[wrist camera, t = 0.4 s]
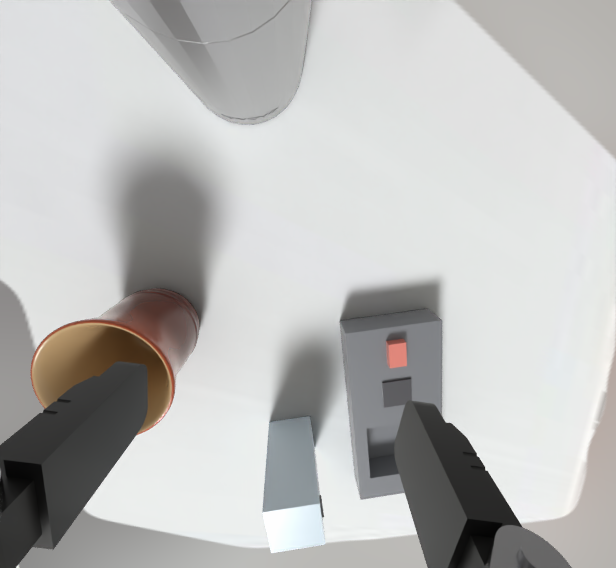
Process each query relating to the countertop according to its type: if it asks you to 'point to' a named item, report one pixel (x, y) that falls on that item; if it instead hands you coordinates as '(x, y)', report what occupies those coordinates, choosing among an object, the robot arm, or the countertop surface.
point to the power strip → (387, 388)
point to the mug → (121, 348)
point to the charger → (292, 487)
